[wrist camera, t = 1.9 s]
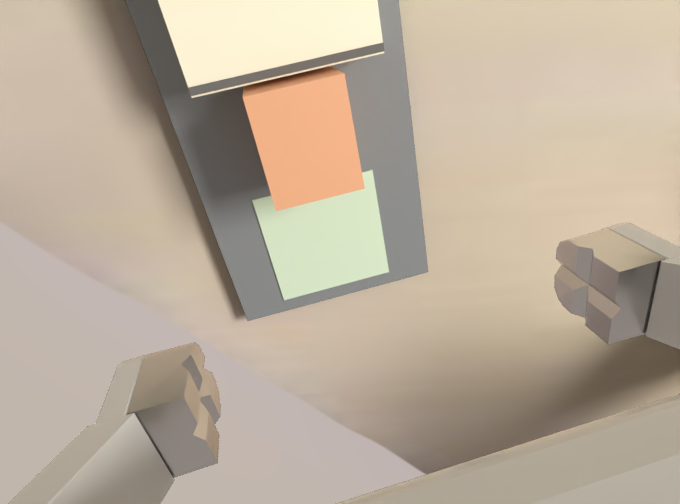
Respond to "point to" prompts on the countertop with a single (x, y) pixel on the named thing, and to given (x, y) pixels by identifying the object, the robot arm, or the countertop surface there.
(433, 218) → the countertop surface
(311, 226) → the ticket board
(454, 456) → the countertop surface
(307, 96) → the stub
